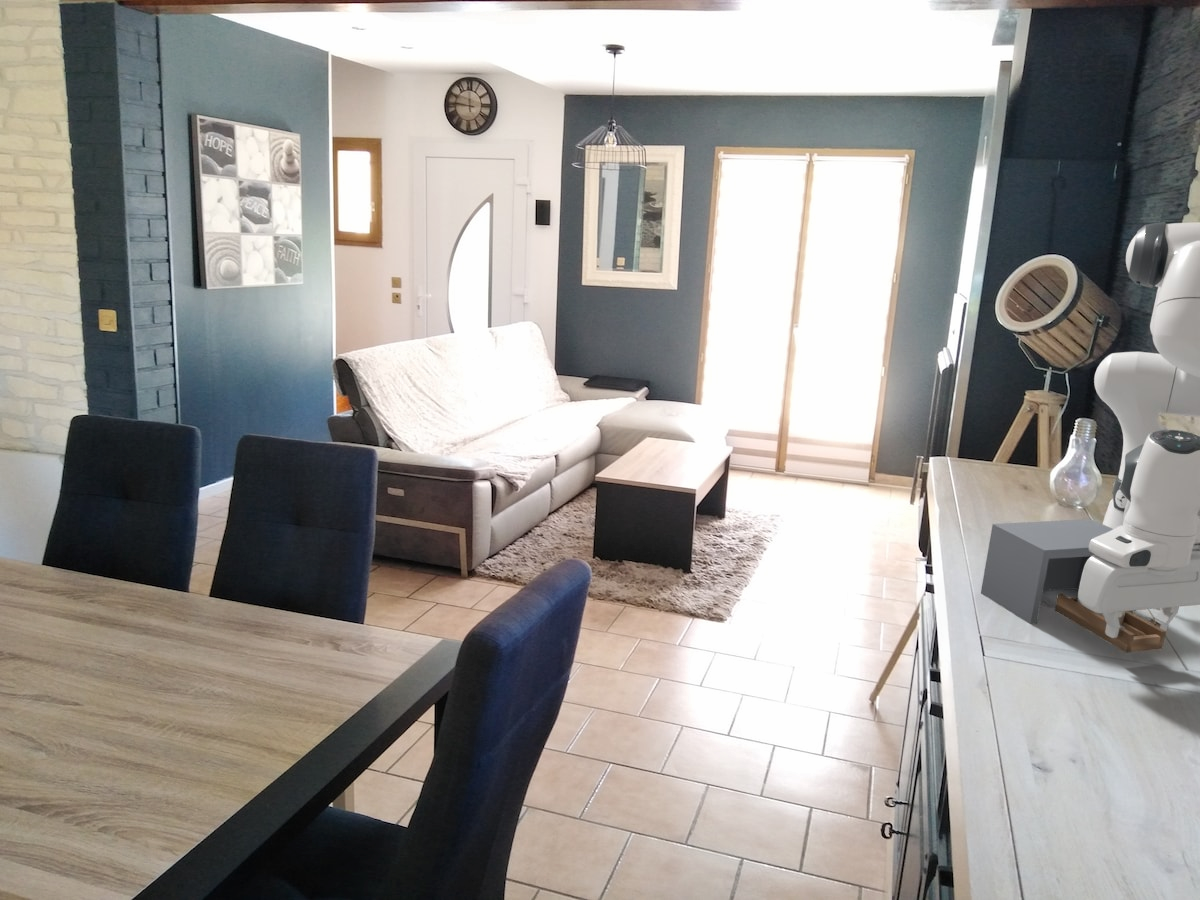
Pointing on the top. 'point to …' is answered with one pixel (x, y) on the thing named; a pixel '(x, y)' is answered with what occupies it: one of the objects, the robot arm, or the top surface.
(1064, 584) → the grey cover
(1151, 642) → the tray
